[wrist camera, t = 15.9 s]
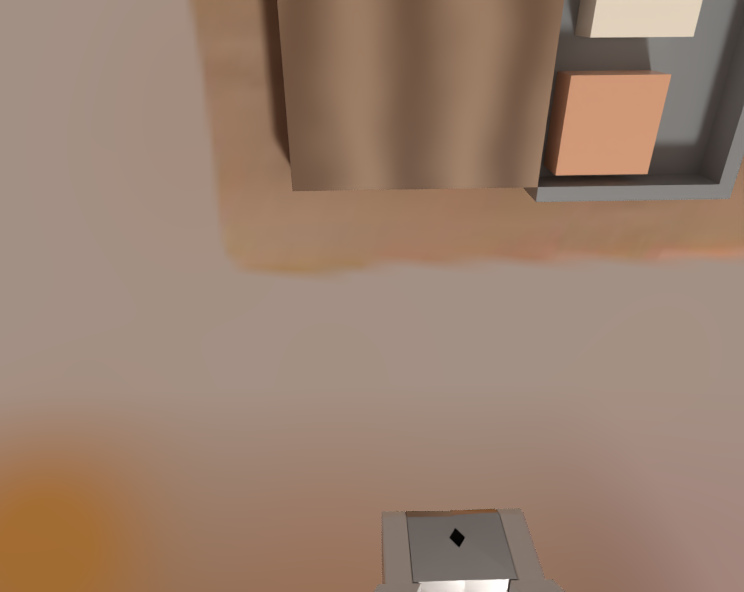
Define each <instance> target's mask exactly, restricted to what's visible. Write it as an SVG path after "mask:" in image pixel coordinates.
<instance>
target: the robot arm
mask: <svg viewBox="0 0 744 592" xmlns="http://www.w3.org/2000/svg"><path fill="white" fill-rule="evenodd" d="M374 592H565V591H564V590H563V589H562V588H561V587H560V586H559V585H558V584H557V583H556V582H555V581H554V580H553V579H552V580H551V579H545V576H544V573H543V570H542V567H541V564H540V561H539V558H538V556H537V552H536V549H535V547H534V543H533V540H532V538H531V534H530V531H529V528H528V525H527V522H526V519H525V517H524V514H523V512H522V511H521V509H519V508H518V509H472V510H451V511H406V512H405V511H400V512H399V511H396V512H382V584H379V585H377V587H376V589H375V591H374Z"/></svg>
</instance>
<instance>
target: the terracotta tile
mask: <svg viewBox="0 0 744 592" xmlns="http://www.w3.org/2000/svg"><path fill="white" fill-rule="evenodd" d="M671 75H672V74H667V73H663V72H658V71H653V70H607V71H557V77H556V84H555V91H554V98H553V105H552V111H551V118H550V125H549V132H548V139H547V146H546V152H545V159H544V166H545V167H546V168H547V169H549V170H550V171H551V172H552V173H553V174H554V175H618V174H648V170H649V166H650V161H651V157H652V153H653V149H654V145H655V141H656V137H657V132H658V128H659V124H660V120H661V116H662V112H663V108H664V103H665V99H666V95H667V91H668V87H669V83H670V79H671Z"/></svg>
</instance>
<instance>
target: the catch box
mask: <svg viewBox="0 0 744 592" xmlns="http://www.w3.org/2000/svg"><path fill="white" fill-rule="evenodd" d="M579 5H580V0H564V5H563V12H562V19H561V26H560V33H559V40H558V47H557V54H556V61H555V68H554V75H553V82H552V89H551V96H550V103H549V110H548V117H547V124H546V131H545V138H544V145H543V152H542V159H541V166H540V173H539V180H538V187H524V189H525V190H526V191H527V193H528V194H529V195H530V196H531V197H532V198H533V199H534V200H535V201H536V202H560V201H624V200H687V199H730V196H731V193H732V190H733V187H734V183H735V180H736V177H737V174H738V171H739V168H740V165H741V162H742V159H743V156H744V0H703V1H702V5H701V9H700V13H699V17H698V21H697V25H696V29H695V32H694V36H693V37H597V38H590V37H582V36H575V30H576V24H577V17H578V11H579ZM607 70H653V71H658V72H663V73H667V74H672V75H671V79H670V83H669V87H668V91H667V95H666V99H665V103H664V108H663V112H662V116H661V120H660V124H659V128H658V132H657V137H656V141H655V145H654V149H653V153H652V157H651V161H650V166H649V170H648V174H618V175H554V174H553V173H552V172H551V171H550V170H549V169H547V168H546V167H545V166H544V159H545V152H546V146H547V139H548V132H549V125H550V118H551V111H552V105H553V98H554V91H555V84H556V77H557V71H607Z"/></svg>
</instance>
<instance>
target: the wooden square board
mask: <svg viewBox="0 0 744 592" xmlns="http://www.w3.org/2000/svg"><path fill="white" fill-rule="evenodd" d="M563 5H564V0H277V6H278V18H279V30H280V43H281V55H282V67H283V79H284V92H285V104H286V116H287V128H288V141H289V153H290V165H291V177H292V190H293V191H325V190H391V189H457V188H522V187H538V180H539V173H540V166H541V159H542V152H543V145H544V138H545V131H546V124H547V117H548V110H549V103H550V96H551V89H552V82H553V75H554V68H555V61H556V54H557V47H558V40H559V33H560V26H561V19H562V12H563Z"/></svg>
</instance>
